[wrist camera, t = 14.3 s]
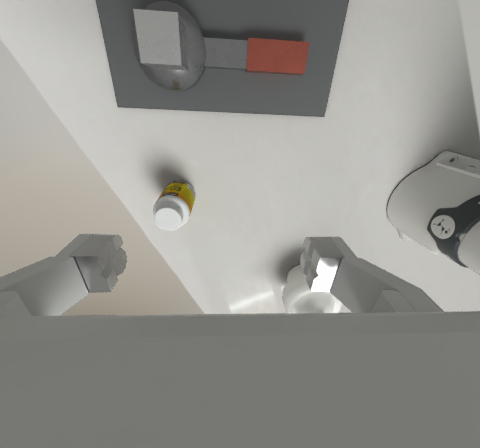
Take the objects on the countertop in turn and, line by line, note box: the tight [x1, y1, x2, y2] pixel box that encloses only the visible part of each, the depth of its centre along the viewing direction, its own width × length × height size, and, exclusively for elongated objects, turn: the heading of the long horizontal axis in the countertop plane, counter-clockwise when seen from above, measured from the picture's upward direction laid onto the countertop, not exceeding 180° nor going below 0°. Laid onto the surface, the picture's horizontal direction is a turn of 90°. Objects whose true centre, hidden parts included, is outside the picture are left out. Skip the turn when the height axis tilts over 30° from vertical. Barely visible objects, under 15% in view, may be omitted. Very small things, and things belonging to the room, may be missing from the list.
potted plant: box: [282, 265, 343, 313], centre depth 42 cm, size 13×12×25 cm
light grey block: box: [133, 9, 189, 71], centre depth 26 cm, size 4×4×6 cm
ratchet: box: [133, 1, 310, 91], centre depth 28 cm, size 22×9×5 cm, turn 87°
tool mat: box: [96, 0, 349, 117], centre depth 29 cm, size 32×22×1 cm
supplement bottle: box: [153, 181, 195, 231], centre depth 37 cm, size 6×6×10 cm
